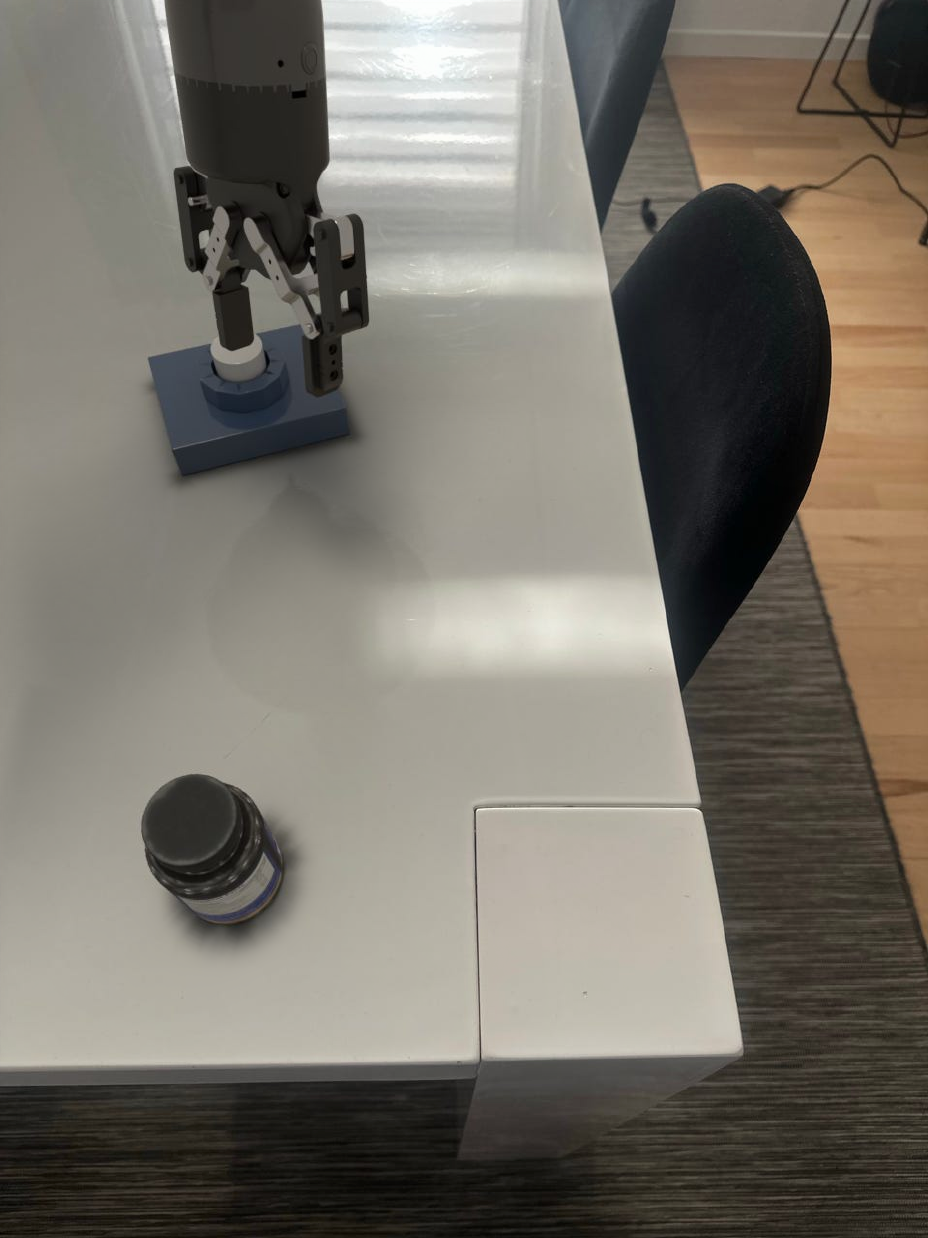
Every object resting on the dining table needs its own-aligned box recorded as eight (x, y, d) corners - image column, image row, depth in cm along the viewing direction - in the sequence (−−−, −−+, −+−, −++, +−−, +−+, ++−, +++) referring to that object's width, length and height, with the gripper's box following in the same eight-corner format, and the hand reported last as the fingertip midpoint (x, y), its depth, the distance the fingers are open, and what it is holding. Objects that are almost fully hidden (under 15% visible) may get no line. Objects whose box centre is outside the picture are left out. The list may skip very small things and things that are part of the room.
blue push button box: (181, 476, 67) (164, 431, 62) (157, 384, 72) (139, 337, 68) (350, 433, 70) (344, 388, 65) (314, 348, 75) (307, 301, 71)
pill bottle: (186, 830, 52) (131, 763, 42) (285, 820, 52) (253, 753, 43) (179, 933, 48) (118, 887, 39) (285, 922, 49) (250, 873, 40)
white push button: (222, 389, 65) (216, 368, 64) (211, 356, 67) (205, 335, 66) (272, 377, 66) (267, 357, 64) (260, 345, 68) (255, 324, 66)
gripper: (106, 47, 43) (163, 349, 54) (280, 96, 36) (306, 429, 47) (227, 39, 47) (257, 319, 58) (403, 81, 41) (401, 389, 51)
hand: (279, 368), depth 53 cm, fingers open, 8 cm apart
